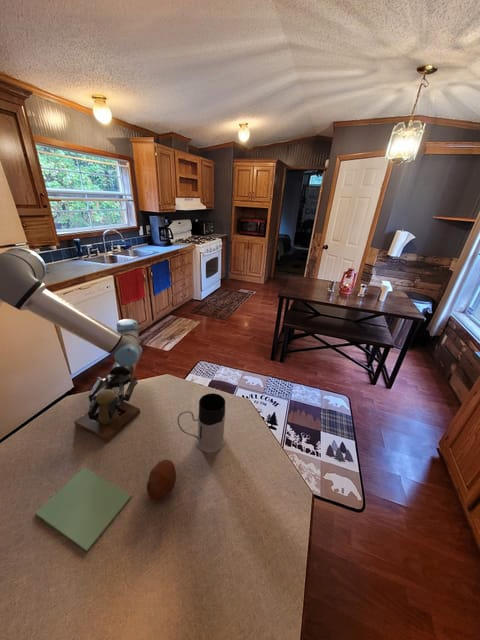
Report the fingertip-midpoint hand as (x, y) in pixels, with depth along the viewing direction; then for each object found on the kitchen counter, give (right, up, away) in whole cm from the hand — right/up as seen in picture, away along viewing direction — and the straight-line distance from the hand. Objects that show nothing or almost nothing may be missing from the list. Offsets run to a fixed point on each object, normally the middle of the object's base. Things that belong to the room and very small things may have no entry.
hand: (100, 415), depth 74 cm
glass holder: (+30, -9, +3) cm, 31 cm away
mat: (+5, -15, -16) cm, 22 cm away
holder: (-1, -4, +8) cm, 9 cm away
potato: (+22, -14, -10) cm, 28 cm away
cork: (-1, -4, +8) cm, 9 cm away
